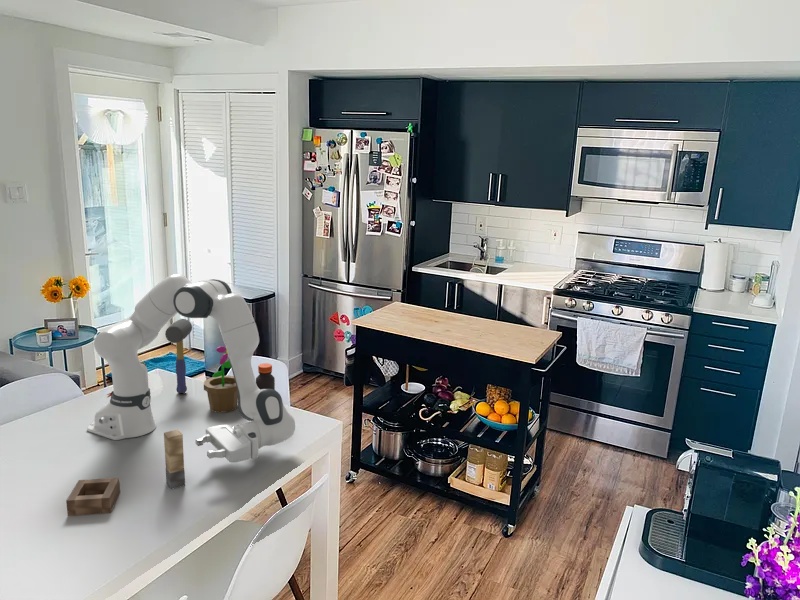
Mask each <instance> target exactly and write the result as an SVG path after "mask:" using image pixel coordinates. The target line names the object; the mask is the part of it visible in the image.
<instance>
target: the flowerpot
mask: <svg viewBox="0 0 800 600" xmlns="http://www.w3.org/2000/svg"><path fill="white" fill-rule="evenodd" d="M215 351H216V353H219V354H220V353H222V355H221V356H220V357H221V358H220V360H219V364H220V365H221V370H220V371H219V370H218V371H216V372H214V373H213V375H212V377H209V378H207V379H206V380H204V382H203V390H204V391H205V392H206V393H207V400H208V406H209V410H211V411H212V410H213V411H212V412H214V411H216V413H228V411H229V412H232V411H231V410H233V411H234V410H237V408H238V390H237V386H236V383H235V379H234V375H225V368H226V369H231V364H230V360H229V356H228V352H227V349H226V346H225V345H224V346H222V345H221V346H218V347H216V350H215Z"/></svg>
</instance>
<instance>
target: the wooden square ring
mask: <svg viewBox="0 0 800 600" xmlns="http://www.w3.org/2000/svg"><path fill="white" fill-rule="evenodd" d="M120 494H121V484H120V477H111V478H110V477H109V478H95V479H93V478H92V479H79V480H78V481H77V483H76V484H75V485H74V487H73V488H72V491H71V493H70V494H69V495H68V497H67V499H65V500H66V512H67V517H72V516H85V515H86V516H89V515H101V514H111V513H112V511H113V508H114V507H115V504H116V502H117V500H118V498H119V497H120Z"/></svg>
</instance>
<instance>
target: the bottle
mask: <svg viewBox="0 0 800 600" xmlns="http://www.w3.org/2000/svg"><path fill="white" fill-rule="evenodd" d="M257 367H258V368H257V369H258V371H257V372H258V375H257V377H256V378H255V381H256V384H257V386H258V388H259V389H260V390H261V389H273V390H276V387H275V386H276V383H275V381H276V379H275V378H276V377H275V376H273V374H272V372H273V365H272V364H271V363H268V362H266V363H260V364H258V366H257Z"/></svg>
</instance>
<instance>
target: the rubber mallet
mask: <svg viewBox="0 0 800 600" xmlns="http://www.w3.org/2000/svg"><path fill="white" fill-rule="evenodd" d="M192 331H193V325H192V323H191V321H190V320H188V319H186V318H180V319H177V320H176V321H174V322H172V323H171V325H169V326H168V327H167V328H166V330H165V338H166V340H167V341H168V342H170V343H173V344H176V360H175V374H176V387H175V389H176V392H177V393H184V394H186V393H185V392H187V391H188V387H187V383H186V382H187V381H186V379H187V378H186V374H187V367H186V361H185V360H186V359H185V355H184V339H186V338H187V337H188V336H190V335H189V334H190V333H191V332H192Z"/></svg>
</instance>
